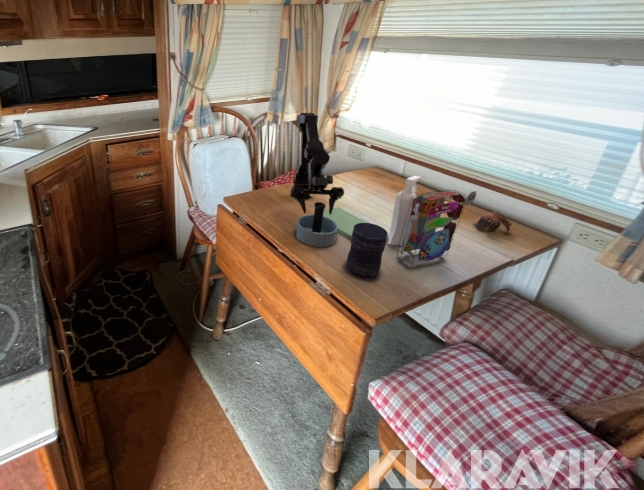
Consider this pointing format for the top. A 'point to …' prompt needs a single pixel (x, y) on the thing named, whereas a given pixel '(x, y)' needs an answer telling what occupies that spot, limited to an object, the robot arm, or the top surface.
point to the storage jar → (366, 250)
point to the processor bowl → (314, 238)
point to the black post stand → (317, 218)
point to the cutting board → (344, 220)
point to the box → (432, 224)
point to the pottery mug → (493, 222)
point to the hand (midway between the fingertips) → (317, 213)
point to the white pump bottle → (402, 211)
